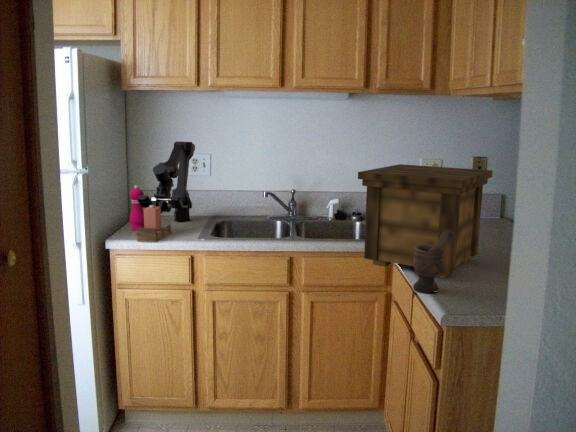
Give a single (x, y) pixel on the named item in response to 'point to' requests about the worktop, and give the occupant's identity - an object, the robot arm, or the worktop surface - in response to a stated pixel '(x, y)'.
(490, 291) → the worktop surface
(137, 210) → the pepper mill
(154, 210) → the salmon orange block
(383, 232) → the crate
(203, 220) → the worktop surface
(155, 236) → the brown wooden box
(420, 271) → the mortar and pestle
